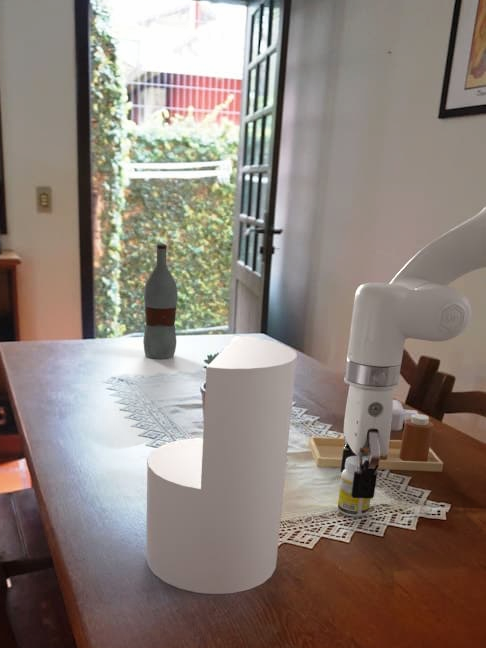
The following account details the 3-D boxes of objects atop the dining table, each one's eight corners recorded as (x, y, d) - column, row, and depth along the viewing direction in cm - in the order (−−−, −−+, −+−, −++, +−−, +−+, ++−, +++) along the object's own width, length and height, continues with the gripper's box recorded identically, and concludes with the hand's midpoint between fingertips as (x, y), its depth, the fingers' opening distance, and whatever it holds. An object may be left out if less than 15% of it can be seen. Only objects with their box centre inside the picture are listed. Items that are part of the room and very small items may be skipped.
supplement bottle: (361, 503, 108) (368, 454, 105) (373, 517, 104) (381, 466, 101) (332, 504, 107) (339, 455, 104) (343, 518, 103) (350, 467, 100)
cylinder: (283, 537, 97) (303, 341, 86) (266, 604, 81) (288, 375, 70) (166, 520, 100) (171, 329, 89) (128, 581, 85) (128, 359, 74)
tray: (423, 450, 131) (425, 441, 131) (441, 474, 121) (443, 463, 120) (308, 446, 131) (309, 436, 130) (316, 468, 121) (318, 458, 120)
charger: (428, 436, 139) (354, 429, 141) (422, 421, 148) (351, 415, 150) (432, 414, 138) (357, 407, 139) (425, 400, 146) (354, 394, 148)
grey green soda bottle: (162, 350, 199) (164, 242, 187) (182, 356, 193) (186, 245, 181) (136, 354, 193) (137, 243, 181) (156, 361, 187) (158, 246, 175)
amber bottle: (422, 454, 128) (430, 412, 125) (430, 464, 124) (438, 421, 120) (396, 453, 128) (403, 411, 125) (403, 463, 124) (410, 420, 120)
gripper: (415, 391, 89) (395, 511, 96) (383, 359, 105) (368, 464, 112) (358, 389, 89) (342, 509, 96) (335, 357, 105) (322, 462, 112)
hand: (356, 484), depth 104 cm, fingers open, 8 cm apart
